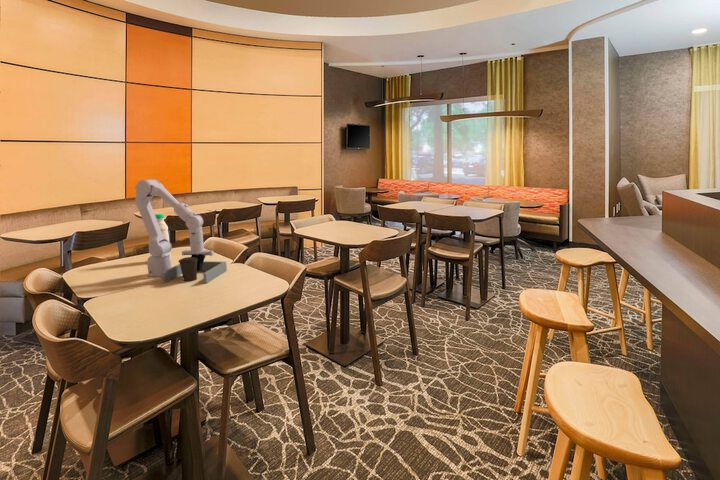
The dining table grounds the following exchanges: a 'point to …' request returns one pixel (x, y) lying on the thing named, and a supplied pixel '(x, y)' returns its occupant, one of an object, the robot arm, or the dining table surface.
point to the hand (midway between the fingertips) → (199, 270)
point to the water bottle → (162, 226)
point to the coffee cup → (189, 268)
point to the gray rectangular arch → (210, 266)
